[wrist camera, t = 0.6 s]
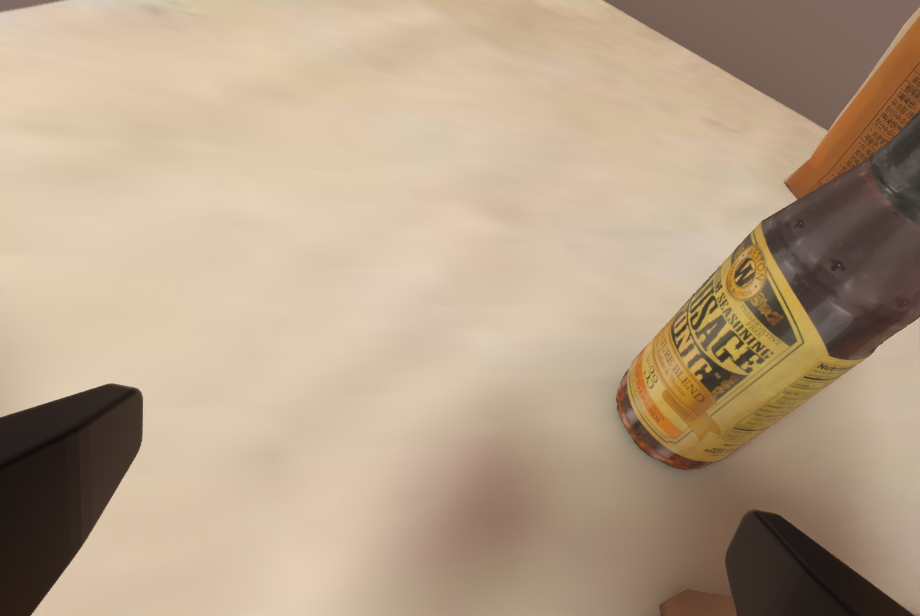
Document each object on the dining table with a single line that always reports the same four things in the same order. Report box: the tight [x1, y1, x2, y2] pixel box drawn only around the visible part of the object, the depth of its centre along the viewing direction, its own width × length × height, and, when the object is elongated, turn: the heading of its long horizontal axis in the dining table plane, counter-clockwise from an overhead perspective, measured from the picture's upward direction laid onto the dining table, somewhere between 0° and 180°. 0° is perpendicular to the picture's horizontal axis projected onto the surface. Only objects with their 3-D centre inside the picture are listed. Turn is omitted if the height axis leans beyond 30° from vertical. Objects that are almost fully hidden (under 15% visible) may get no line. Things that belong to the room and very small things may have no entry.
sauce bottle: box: [616, 111, 920, 469], centre depth 24 cm, size 7×6×20 cm
